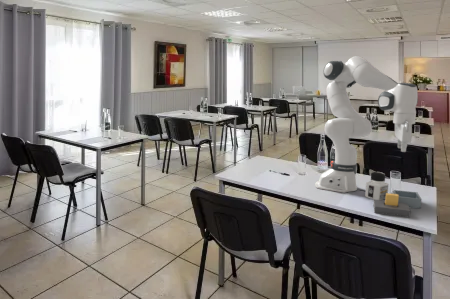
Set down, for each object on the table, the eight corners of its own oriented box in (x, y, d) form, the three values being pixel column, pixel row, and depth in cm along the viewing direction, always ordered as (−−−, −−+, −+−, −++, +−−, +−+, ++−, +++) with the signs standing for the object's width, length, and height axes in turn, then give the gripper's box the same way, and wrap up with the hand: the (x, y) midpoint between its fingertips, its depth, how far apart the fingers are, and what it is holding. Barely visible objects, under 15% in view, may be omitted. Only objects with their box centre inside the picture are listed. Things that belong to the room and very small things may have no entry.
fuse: (384, 211, 154) (386, 194, 153) (384, 209, 156) (385, 193, 155) (396, 212, 152) (398, 195, 151) (396, 210, 155) (398, 194, 153)
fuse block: (374, 212, 152) (375, 206, 152) (373, 205, 161) (373, 199, 161) (409, 217, 147) (410, 210, 147) (406, 209, 157) (406, 203, 156)
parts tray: (394, 205, 161) (395, 196, 160) (391, 198, 171) (392, 189, 171) (420, 208, 158) (421, 199, 157) (416, 200, 168) (417, 192, 167)
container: (379, 201, 167) (381, 175, 165) (364, 196, 173) (367, 172, 171) (387, 198, 172) (389, 173, 169) (373, 194, 178) (375, 170, 175)
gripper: (416, 121, 141) (413, 154, 143) (407, 118, 160) (405, 146, 162) (400, 121, 143) (397, 153, 145) (393, 117, 162) (390, 146, 164)
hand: (401, 149), depth 154 cm, fingers open, 8 cm apart
